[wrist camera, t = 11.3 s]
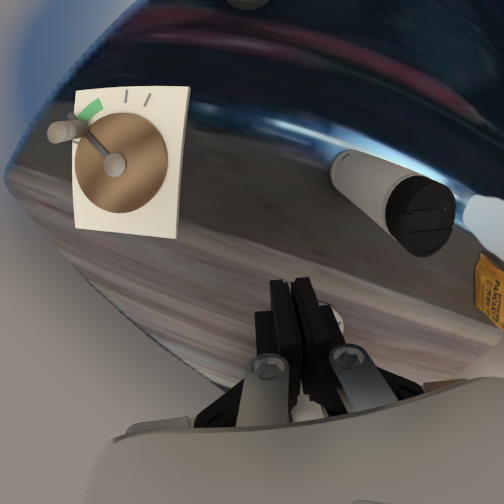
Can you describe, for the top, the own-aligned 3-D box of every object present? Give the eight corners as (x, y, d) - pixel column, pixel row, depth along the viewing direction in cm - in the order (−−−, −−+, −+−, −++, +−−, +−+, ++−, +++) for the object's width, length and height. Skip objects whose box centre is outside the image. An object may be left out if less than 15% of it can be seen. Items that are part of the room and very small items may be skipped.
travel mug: (326, 149, 35) (403, 183, 17) (371, 149, 35) (468, 185, 17) (326, 195, 38) (393, 265, 20) (370, 193, 38) (456, 257, 20)
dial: (189, 162, 34) (174, 174, 27) (124, 228, 37) (100, 254, 30) (107, 76, 28) (75, 70, 21) (51, 149, 32) (16, 159, 24)
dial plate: (178, 234, 40) (175, 239, 38) (80, 224, 38) (74, 228, 37) (190, 88, 31) (188, 86, 30) (81, 91, 30) (75, 90, 28)
